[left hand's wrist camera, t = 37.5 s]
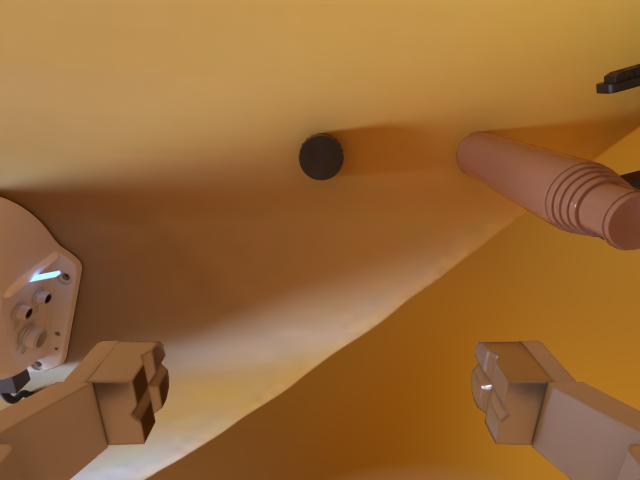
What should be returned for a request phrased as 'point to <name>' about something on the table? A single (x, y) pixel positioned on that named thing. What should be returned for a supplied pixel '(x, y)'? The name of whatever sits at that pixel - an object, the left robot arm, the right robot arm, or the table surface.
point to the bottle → (556, 187)
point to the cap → (321, 156)
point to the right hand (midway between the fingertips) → (603, 141)
